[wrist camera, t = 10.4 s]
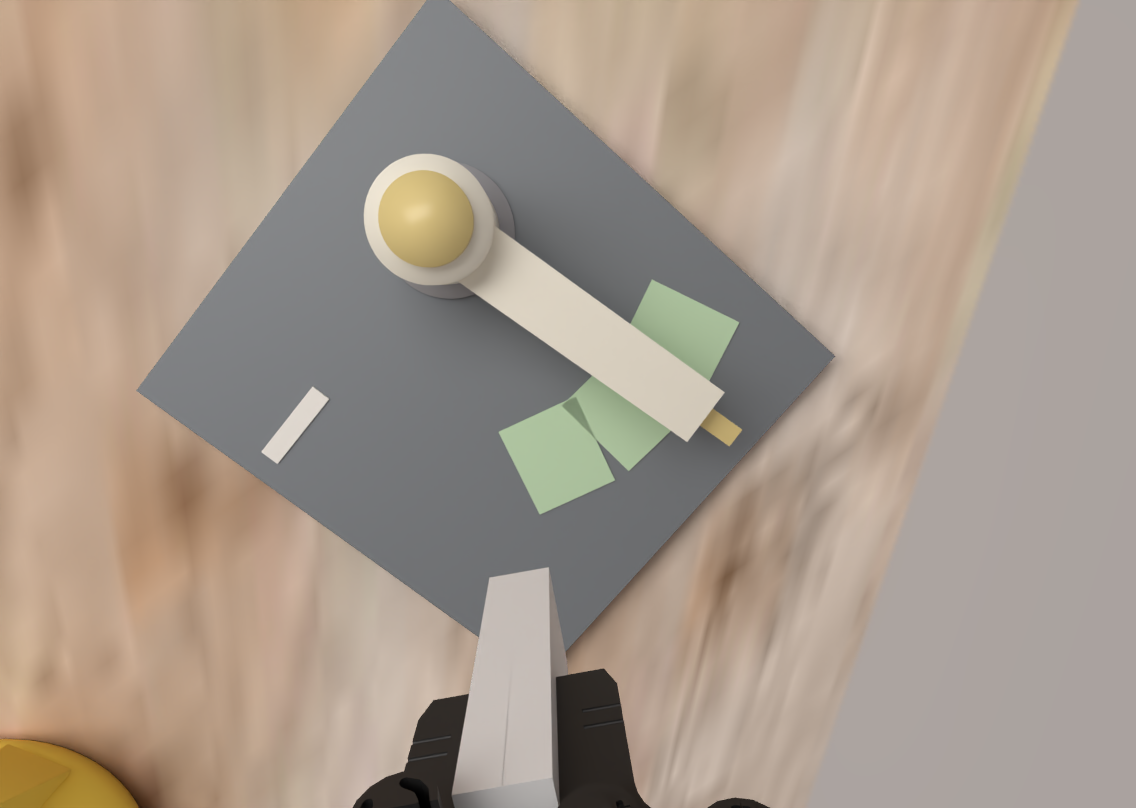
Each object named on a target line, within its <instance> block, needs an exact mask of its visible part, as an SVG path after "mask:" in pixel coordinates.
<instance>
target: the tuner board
mask: <svg viewBox="0 0 1136 808" xmlns="http://www.w3.org/2000/svg"><path fill="white" fill-rule="evenodd" d="M414 154H435V155H440V156H443V157H446V158H449V159H451V160H453V161H456V162H457V163H459V164H460V165H462V166H464V167H465V168H466V169H467V170H468V171H469V172H471V173H472V175H473V176H474V177H475V178H476V179H477V180H478V182H479V183H480V185H481V186H482V188H483V189H484V191H485V193H486V194H487V196H488V198H489V199H490V201H491V203H492V205H493V206H494V208H495V211H496V213H497V217H498V221H499V228H500V230H501V231H503V232H504V233H505V234H507V235H508V236H509V237H511V238H512V239H514V240H515V241H516V242H518V243H519V244H520V245H522V246H523V247H525V248H526V249H527V250H529V251H530V252H532V253H533V254H534V255H536V256H537V257H538V258H540V259H541V260H543V261H544V262H545V263H547V264H548V265H549V266H551V267H552V268H554V269H555V270H556V271H558V272H559V273H561V274H562V275H563V276H565V277H566V278H567V279H569V280H570V281H572V282H573V283H574V284H576V285H577V286H578V287H580V288H581V289H583V290H584V291H585V292H587V293H588V294H590V295H591V296H592V297H594V298H595V299H596V300H598V301H599V302H601V303H602V304H603V305H605V306H606V307H607V308H609V309H610V310H612V311H613V312H614V313H616V314H617V315H619V316H620V317H621V318H623V319H624V320H625V321H627V322H628V323H630V324H631V325H632V326H634V327H635V328H636V329H638V330H639V331H641V332H642V333H643V334H645V335H646V336H648V337H649V338H650V339H652V340H653V341H654V342H656V343H657V344H659V345H660V346H661V347H663V348H664V349H665V350H667V351H668V352H670V353H671V354H672V355H674V356H675V357H677V358H678V359H679V360H681V361H682V362H683V363H685V364H686V365H688V366H689V367H690V368H692V369H693V370H694V371H696V372H697V373H699V374H700V375H701V376H703V377H704V378H706V379H707V380H708V381H710V382H711V383H712V384H714V385H715V386H717V387H718V388H719V389H721V390H722V391H723V392H725V393H724V394H723V395H722V397H721V398H720V399H719V401H718V402H717V403H716V405H715V406H714V407H713V409H714V410H716V411H717V412H718V413H720V414H721V415H723V416H724V417H725V418H727V419H728V420H730V421H731V422H732V423H734V424H735V425H737V426H738V427H739V428H741V429H742V431H741V432H740V433H739V435H738V436H737V437H736V439H735V440H734V441H733V443H732V444H731V445H730V446H728V445H727V444H725V443H724V442H722V441H721V440H720V439H718V438H717V437H715V436H714V435H712V434H711V433H710V432H708V431H707V430H705V429H704V428H703V427H701V426H699V427H698V428H697V430H696V431H695V432H694V434H693V435H692V436H691V438H690V439H689V440H688V442H686V441H685V440H683V439H682V438H681V437H679V436H678V435H676V434H675V433H673V432H672V431H671V430H669V429H668V428H666V427H665V426H664V425H662V424H661V423H659V422H658V421H656V420H655V419H654V418H652V417H651V416H649V415H648V414H646V413H645V412H644V411H642V410H641V409H639V408H638V407H636V406H635V405H634V404H632V403H631V402H629V401H628V400H626V399H625V398H624V397H622V396H621V395H619V394H618V393H616V392H615V391H614V390H612V389H611V388H609V387H608V386H606V385H605V384H604V383H602V382H601V381H599V380H598V379H596V378H595V377H594V376H592V375H591V374H589V373H588V372H586V371H585V370H584V369H582V368H581V367H579V366H578V365H576V364H575V363H574V362H572V361H571V360H569V359H568V358H566V357H565V356H564V355H562V354H561V353H559V352H558V351H556V350H555V349H554V348H552V347H551V346H549V345H548V344H546V343H545V342H544V341H542V340H541V339H539V338H538V337H536V336H535V335H534V334H532V333H531V332H529V331H528V330H526V329H525V328H524V327H522V326H521V325H519V324H518V323H516V322H515V321H514V320H512V319H511V318H509V317H508V316H506V315H505V314H504V313H502V312H501V311H499V310H498V309H496V308H495V307H494V306H492V305H491V304H489V303H488V302H486V301H485V300H484V299H482V298H481V297H479V296H478V295H476V294H475V293H474V292H472V291H471V290H469V289H468V288H466V287H465V286H464V285H462V284H461V283H458V284H448V285H421V284H416V283H412V282H409V281H407V280H404V279H402V278H400V277H399V276H397V275H395V274H394V273H392V272H391V271H390V270H389V269H387V268H386V267H385V266H384V265H383V264H382V263H381V262H380V260H379V259H378V258H377V256H376V255H375V253H374V252H373V250H372V248H371V246H370V244H369V241H368V239H367V235H366V232H365V226H364V206H365V202H366V197H367V195H368V192H369V189H370V187H371V186H372V184H373V182H374V181H375V179H376V178H377V176H378V175H379V174H380V173H381V172H382V171H383V170H384V169H385V168H386V167H388V166H389V165H390V164H392V163H393V162H395V161H397V160H399V159H401V158H404V157H406V156H410V155H414ZM834 357H835V356H834V355H833V354H832V353H831V352H830V351H829V350H828V349H827V348H826V347H825V346H824V345H822V344H821V343H820V342H819V341H818V340H817V339H816V338H815V337H814V336H813V335H812V334H811V333H809V332H808V331H807V330H806V329H805V328H804V327H803V326H802V325H801V324H800V323H799V322H798V321H796V320H795V319H794V318H793V317H792V316H791V315H790V314H789V313H788V312H787V311H786V310H785V309H783V308H782V307H781V306H780V305H779V304H778V303H777V302H776V301H775V300H774V299H773V298H772V297H770V296H769V295H768V294H767V293H766V292H765V291H764V290H763V289H762V288H761V287H760V286H759V285H757V284H756V283H755V282H754V281H753V280H752V279H751V278H750V277H749V276H748V275H747V274H746V273H744V272H743V271H742V270H741V269H740V268H739V267H738V266H737V265H736V264H735V263H734V262H733V261H731V260H730V259H729V258H728V257H727V256H726V255H725V254H724V253H723V252H722V251H721V250H719V249H718V248H717V247H716V246H715V245H714V244H713V243H712V242H711V241H710V240H709V239H708V238H706V237H705V236H704V235H703V234H702V233H701V232H700V231H699V230H698V229H697V228H696V227H695V226H693V225H692V224H691V223H690V222H689V221H688V220H687V219H686V218H685V217H684V216H683V215H682V214H680V213H679V212H678V211H677V210H676V209H675V208H674V207H673V206H672V205H671V204H670V203H669V202H667V201H666V200H665V199H664V198H663V197H662V196H661V195H660V194H659V193H658V192H657V191H656V190H654V189H653V188H652V187H651V186H650V185H649V184H648V183H647V182H646V181H645V180H644V179H643V178H641V177H640V176H639V175H638V174H637V173H636V172H635V171H634V170H633V169H632V168H631V167H630V166H628V165H627V164H626V163H625V162H624V161H623V160H622V159H621V158H620V157H619V156H618V155H617V154H615V153H614V152H613V151H612V150H611V149H610V148H609V147H608V146H607V145H606V144H605V143H604V142H602V141H601V140H600V139H599V138H598V137H597V136H596V135H595V134H594V133H593V132H592V131H591V130H589V129H588V128H587V127H586V126H585V125H584V124H583V123H582V122H581V121H580V120H579V119H578V118H576V117H575V116H574V115H573V114H572V113H571V112H570V111H569V110H568V109H567V108H566V107H564V106H563V105H562V104H561V103H560V102H559V101H558V100H557V99H556V98H555V97H554V96H553V95H551V94H550V93H549V92H548V91H547V90H546V89H545V88H544V87H543V86H542V85H541V84H540V83H538V82H537V81H536V80H535V79H534V78H533V77H532V76H531V75H530V74H529V73H528V72H527V71H525V70H524V69H523V68H522V67H521V66H520V65H519V64H518V63H517V62H516V61H515V60H514V59H512V58H511V57H510V56H509V55H508V54H507V53H506V52H505V51H504V50H503V49H502V48H501V47H499V46H498V45H497V44H496V43H495V42H494V41H493V40H492V39H491V38H490V37H489V36H488V35H486V34H485V33H484V32H483V31H482V30H481V29H480V28H479V27H478V26H477V25H476V24H475V23H473V22H472V21H471V20H470V19H469V18H468V17H467V16H466V15H465V14H464V13H463V12H462V11H460V10H459V9H458V8H457V7H456V6H455V5H454V4H453V3H452V2H451V1H450V0H427V1H426V2H425V3H424V5H423V6H422V7H421V9H420V10H419V11H418V13H417V14H416V16H415V17H414V18H413V20H412V21H411V22H410V24H409V25H408V26H407V28H406V29H405V30H404V32H403V33H402V34H401V36H400V37H399V38H398V40H397V41H396V42H395V44H394V45H393V46H392V48H391V49H390V50H389V52H388V53H387V54H386V56H385V57H384V59H383V60H382V61H381V63H380V64H379V65H378V67H377V68H376V69H375V71H374V72H373V73H372V75H371V76H370V77H369V79H368V80H367V81H366V83H365V84H364V85H363V87H362V88H361V89H360V91H359V92H358V93H357V95H356V96H355V97H354V99H353V100H352V102H351V103H350V104H349V106H348V107H347V108H346V110H345V111H344V112H343V114H342V115H341V116H340V118H339V119H338V120H337V122H336V123H335V124H334V126H333V127H332V128H331V130H330V131H329V132H328V134H327V135H326V136H325V138H324V139H323V140H322V142H321V143H320V145H319V146H318V147H317V149H316V150H315V151H314V153H313V154H312V155H311V157H310V158H309V159H308V161H307V162H306V163H305V165H304V166H303V167H302V169H301V170H300V171H299V173H298V174H297V175H296V177H295V178H294V179H293V181H292V182H291V184H290V185H289V186H288V188H287V189H286V190H285V192H284V193H283V194H282V196H281V197H280V198H279V200H278V201H277V202H276V204H275V205H274V206H273V208H272V209H271V210H270V212H269V213H268V214H267V216H266V217H265V218H264V220H263V221H262V222H261V224H260V225H259V227H258V228H257V229H256V231H255V232H254V233H253V235H252V236H251V237H250V239H249V240H248V241H247V243H246V244H245V245H244V247H243V248H242V249H241V251H240V252H239V253H238V255H237V256H236V257H235V259H234V260H233V261H232V263H231V264H230V265H229V267H228V268H227V270H226V271H225V272H224V274H223V275H222V276H221V278H220V279H219V280H218V282H217V283H216V284H215V286H214V287H213V288H212V290H211V291H210V292H209V294H208V295H207V296H206V298H205V299H204V300H203V302H202V303H201V304H200V306H199V307H198V308H197V310H196V311H195V313H194V314H193V315H192V317H191V318H190V319H189V321H188V322H187V323H186V325H185V326H184V327H183V329H182V330H181V331H180V333H179V334H178V335H177V337H176V338H175V339H174V341H173V342H172V343H171V345H170V346H169V347H168V349H167V350H166V352H165V353H164V354H163V356H162V357H161V358H160V360H159V361H158V362H157V364H156V365H155V366H154V368H153V369H152V370H151V372H150V373H149V374H148V376H147V377H146V378H145V380H144V381H143V382H142V384H141V385H140V386H139V388H138V389H137V390H136V391H138V392H139V393H140V394H142V395H143V396H144V397H146V398H147V399H149V400H150V401H151V402H153V403H154V404H156V405H157V406H158V407H160V408H161V409H163V410H164V411H165V412H167V413H168V414H169V415H171V416H172V417H174V418H175V419H176V420H178V421H179V422H181V423H182V424H183V425H185V426H186V427H188V428H189V429H190V430H192V431H193V432H194V433H196V434H197V435H199V436H200V437H201V438H203V439H204V440H206V441H207V442H208V443H210V444H211V445H213V446H214V447H215V448H217V449H218V450H219V451H221V452H222V453H224V454H225V455H226V456H228V457H229V458H231V459H232V460H233V461H235V462H236V463H238V464H239V465H240V466H242V467H243V468H244V469H246V470H247V471H249V472H250V473H251V474H253V475H254V476H256V477H257V478H258V479H260V480H261V481H263V482H264V483H265V484H267V485H268V486H269V487H271V488H272V489H274V490H275V491H276V492H278V493H279V494H281V495H282V496H283V497H285V498H286V499H288V500H289V501H290V502H292V503H293V504H294V505H296V506H297V507H299V508H300V509H301V510H303V511H304V512H306V513H307V514H308V515H310V516H311V517H313V518H314V519H315V520H317V521H318V522H319V523H321V524H322V525H324V526H325V527H326V528H328V529H329V530H331V531H332V532H333V533H335V534H336V535H338V536H339V537H340V538H342V539H343V540H344V541H346V542H347V543H349V544H350V545H351V546H353V547H354V548H356V549H357V550H358V551H360V552H361V553H363V554H364V555H365V556H367V557H368V558H369V559H371V560H372V561H374V562H375V563H376V564H378V565H379V566H381V567H382V568H383V569H385V570H386V571H388V572H389V573H390V574H392V575H393V576H394V577H396V578H397V579H399V580H400V581H401V582H403V583H404V584H406V585H407V586H408V587H410V588H411V589H413V590H414V591H415V592H417V593H418V594H419V595H421V596H422V597H424V598H425V599H426V600H428V601H429V602H431V603H432V604H433V605H435V606H436V607H438V608H439V609H440V610H442V611H443V612H444V613H446V614H447V615H449V616H450V617H451V618H453V619H454V620H456V621H457V622H458V623H460V624H461V625H463V626H464V627H465V628H467V629H468V630H469V631H471V632H472V633H474V634H475V635H476V636H478V637H479V635H480V629H481V623H482V618H483V612H484V606H485V600H486V595H487V589H488V583H489V578H490V577H496V576H502V575H507V574H513V573H519V572H524V571H530V570H536V569H541V568H547V567H549V571H550V576H551V581H552V587H553V592H554V597H555V602H556V607H557V612H558V618H559V623H560V628H561V633H562V638H563V643H564V649H565V652H566V651H567V650H568V649H569V647H570V646H571V645H572V644H573V643H574V642H575V641H576V640H577V639H578V638H579V636H580V635H581V634H582V633H583V632H584V631H585V630H586V629H587V628H588V627H589V625H590V624H591V623H592V622H593V621H594V620H595V619H596V618H597V617H598V616H599V615H600V613H601V612H602V611H603V610H604V609H605V608H606V607H607V606H608V605H609V604H610V602H611V601H612V600H613V599H614V598H615V597H616V596H617V595H618V594H619V593H620V592H621V590H622V589H623V588H624V587H625V586H626V585H627V584H628V583H629V582H630V581H631V579H632V578H633V577H634V576H635V575H636V574H637V573H638V572H639V571H640V570H641V568H642V567H643V566H644V565H645V564H646V563H647V562H648V561H649V560H650V559H651V558H652V556H653V555H654V554H655V553H656V552H657V551H658V550H659V549H660V548H661V547H662V545H663V544H664V543H665V542H666V541H667V540H668V539H669V538H670V537H671V536H672V534H673V533H674V532H675V531H676V530H677V529H678V528H679V527H680V526H681V525H682V524H683V522H684V521H685V520H686V519H687V518H688V517H689V516H690V515H691V514H692V513H693V511H694V510H695V509H696V508H697V507H698V506H699V505H700V504H701V503H702V502H703V501H704V499H705V498H706V497H707V496H708V495H709V494H710V493H711V492H712V491H713V490H714V488H715V487H716V486H717V485H718V484H719V483H720V482H721V481H722V480H723V479H724V477H725V476H726V475H727V474H728V473H729V472H730V471H731V470H732V469H733V468H734V467H735V465H736V464H737V463H738V462H739V461H740V460H741V459H742V458H743V457H744V456H745V454H746V453H747V452H748V451H749V450H750V449H751V448H752V447H753V446H754V445H755V443H756V442H757V441H758V440H759V439H760V438H761V437H762V436H763V435H764V434H765V433H766V431H767V430H768V429H769V428H770V427H771V426H772V425H773V424H774V423H775V422H776V420H777V419H778V418H779V417H780V416H781V415H782V414H783V413H784V412H785V411H786V410H787V408H788V407H789V406H790V405H791V404H792V403H793V402H794V401H795V400H796V399H797V397H798V396H799V395H800V394H801V393H802V392H803V391H804V390H805V389H806V388H807V386H808V385H809V384H810V383H811V382H812V381H813V380H814V379H815V378H816V377H817V376H818V374H819V373H820V372H821V371H822V370H823V369H824V368H825V367H826V366H827V365H828V363H829V362H830V361H831V360H832V359H833V358H834Z"/></svg>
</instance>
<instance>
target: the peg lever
mask: <svg viewBox="0 0 1136 808" xmlns="http://www.w3.org/2000/svg"><path fill="white" fill-rule="evenodd" d="M364 226H365V232H366V235H367V239H368V241H369V244H370V246H371V248H372V250H373V252H374V253H375V255H376V256H377V258H378V259H379V260H380V262H381V263H382V264H383V265H384V266H385V267H386V268H387V269H389V270H390V271H391V272H392V273H394V274H395V275H397V276H399V277H400V278H402V279H404V280H407V281H409V282H412V283H416V284H421V285H448V284H458V283H461V284H462V285H464V286H465V287H466V288H468V289H469V290H471V291H472V292H474V293H475V294H476V295H478V296H479V297H481V298H482V299H484V300H485V301H486V302H488V303H489V304H491V305H492V306H494V307H495V308H496V309H498V310H499V311H501V312H502V313H504V314H505V315H506V316H508V317H509V318H511V319H512V320H514V321H515V322H516V323H518V324H519V325H521V326H522V327H524V328H525V329H526V330H528V331H529V332H531V333H532V334H534V335H535V336H536V337H538V338H539V339H541V340H542V341H544V342H545V343H546V344H548V345H549V346H551V347H552V348H554V349H555V350H556V351H558V352H559V353H561V354H562V355H564V356H565V357H566V358H568V359H569V360H571V361H572V362H574V363H575V364H576V365H578V366H579V367H581V368H582V369H584V370H585V371H586V372H588V373H589V374H591V375H592V376H594V377H595V378H596V379H598V380H599V381H601V382H602V383H604V384H605V385H606V386H608V387H609V388H611V389H612V390H614V391H615V392H616V393H618V394H619V395H621V396H622V397H624V398H625V399H626V400H628V401H629V402H631V403H632V404H634V405H635V406H636V407H638V408H639V409H641V410H642V411H644V412H645V413H646V414H648V415H649V416H651V417H652V418H654V419H655V420H656V421H658V422H659V423H661V424H662V425H664V426H665V427H666V428H668V429H669V430H671V431H672V432H673V433H675V434H676V435H678V436H679V437H681V438H682V439H683V440H685V441H686V442H688V440H689V439H690V438H691V436H692V435H693V434H694V432H695V431H696V430H697V428H698V427H699V426H701V427H703V428H704V429H705V430H707V431H708V432H710V433H711V434H712V435H714V436H715V437H717V438H718V439H720V440H721V441H722V442H724V443H725V444H727V445H728V446H730V445H731V444H732V443H733V441H734V440H735V439H736V437H737V436H738V435H739V433H740V432H741V431H742V429H741V428H739V427H738V426H737V425H735V424H734V423H732V422H731V421H730V420H728V419H727V418H725V417H724V416H723V415H721V414H720V413H718V412H717V411H716V410H714V409H713V407H714V406H715V405H716V403H717V402H718V401H719V399H720V398H721V397H722V395H723V394H724V393H725V392H723V391H722V390H721V389H719V388H718V387H717V386H715V385H714V384H712V383H711V382H710V381H708V380H707V379H706V378H704V377H703V376H701V375H700V374H699V373H697V372H696V371H694V370H693V369H692V368H690V367H689V366H688V365H686V364H685V363H683V362H682V361H681V360H679V359H678V358H677V357H675V356H674V355H672V354H671V353H670V352H668V351H667V350H665V349H664V348H663V347H661V346H660V345H659V344H657V343H656V342H654V341H653V340H652V339H650V338H649V337H648V336H646V335H645V334H643V333H642V332H641V331H639V330H638V329H636V328H635V327H634V326H632V325H631V324H630V323H628V322H627V321H625V320H624V319H623V318H621V317H620V316H619V315H617V314H616V313H614V312H613V311H612V310H610V309H609V308H607V307H606V306H605V305H603V304H602V303H601V302H599V301H598V300H596V299H595V298H594V297H592V296H591V295H590V294H588V293H587V292H585V291H584V290H583V289H581V288H580V287H578V286H577V285H576V284H574V283H573V282H572V281H570V280H569V279H567V278H566V277H565V276H563V275H562V274H561V273H559V272H558V271H556V270H555V269H554V268H552V267H551V266H549V265H548V264H547V263H545V262H544V261H543V260H541V259H540V258H538V257H537V256H536V255H534V254H533V253H532V252H530V251H529V250H527V249H526V248H525V247H523V246H522V245H520V244H519V243H518V242H516V241H515V240H514V239H512V238H511V237H509V236H508V235H507V234H505V233H504V232H503V231H501V230H500V228H499V221H498V217H497V213H496V211H495V208H494V206H493V205H492V203H491V201H490V199H489V198H488V196H487V194H486V193H485V191H484V189H483V188H482V186H481V185H480V183H479V182H478V180H477V179H476V178H475V177H474V176H473V175H472V173H471V172H469V171H468V170H467V169H466V168H465V167H464V166H462V165H460V164H459V163H457V162H456V161H453V160H451V159H449V158H446V157H443V156H440V155H435V154H414V155H410V156H406V157H404V158H401V159H399V160H397V161H395V162H393V163H392V164H390V165H389V166H388V167H386V168H385V169H384V170H383V171H382V172H381V173H380V174H379V175H378V176H377V178H376V179H375V181H374V182H373V184H372V186H371V187H370V189H369V192H368V195H367V197H366V202H365V206H364Z"/></svg>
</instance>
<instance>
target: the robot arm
mask: <svg viewBox="0 0 1136 808" xmlns="http://www.w3.org/2000/svg"><path fill="white" fill-rule="evenodd" d="M353 808H650V807H649V806H648V805H647V804H646V803H645V802H644V801H643V800H642V798H641V797H640V795H639V794H638V792H637V789H636V786H635V783H634V777H633V772H632V766H631V760H630V755H629V749H628V743H627V738H626V732H625V726H624V721H623V715H622V709H621V704H620V698H619V692H618V687H617V683H616V682H615V681H614V680H613V678H612V677H611V676H610V675H609V674H608V673H607V672H606V670H605V669H599V670H593V671H587V672H582V673H576V674H570V675H568V667H567V659H566V654H565V649H564V643H563V638H562V633H561V628H560V623H559V618H558V612H557V607H556V602H555V597H554V592H553V587H552V581H551V576H550V571H549V567H547V568H541V569H536V570H530V571H524V572H519V573H513V574H507V575H502V576H496V577H490V578H489V583H488V589H487V595H486V600H485V606H484V612H483V618H482V623H481V629H480V635H479V640H478V646H477V652H476V658H475V663H474V669H473V675H472V681H471V686H470V692H469V694H467V695H461V696H455V697H450V698H444V699H438V700H433V702H432V703H431V704H430V706H429V707H428V708H427V710H426V711H425V712H424V713H423V715H422V716H421V717H420V719H419V720H418V723H417V727H416V731H415V734H414V738H413V745H411V749H410V752H409V756H408V763H406V767H405V770H404V772H400V773H397V774H394V775H391V776H388V777H386V778H384V779H382V780H381V781H379V782H377V783H376V784H374V785H373V786H371V787H370V788H369V789H368V790H367V791H366V792H365V793H364V794H363V795H362V796H361V797H360V798H359V799H358V800H357V801H356V803H355V805H354V806H353ZM708 808H769V807H767V806H765V805H763V804H761V803H758V802H756V801H754V800H750V799H742V798H730V799H726V800H721V801H717V802H716V803H714V804H712V805H711V806H709V807H708Z"/></svg>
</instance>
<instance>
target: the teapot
mask: <svg viewBox="0 0 1136 808" xmlns="http://www.w3.org/2000/svg"><path fill="white" fill-rule="evenodd" d="M0 808H139V807H138V805H137V803H136V801H135V800H134V798H133V797H132V795H131V794H130V792H129V791H128V790H127V789H126V788H125V786H124V785H123V784H122V783H121V782H120V781H119V780H118V779H117V778H116V777H115V776H113V775H112V774H111V773H110V772H109V771H108V770H106V769H105V768H103V767H102V766H100V765H99V764H98V763H96V762H94V761H93V760H91V759H89V758H87V757H85V756H83V755H81V754H79V753H77V752H74V751H72V750H69V749H67V748H64V747H60V746H57V745H53V744H50V743H45V742H39V741H33V740H19V739H0Z"/></svg>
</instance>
